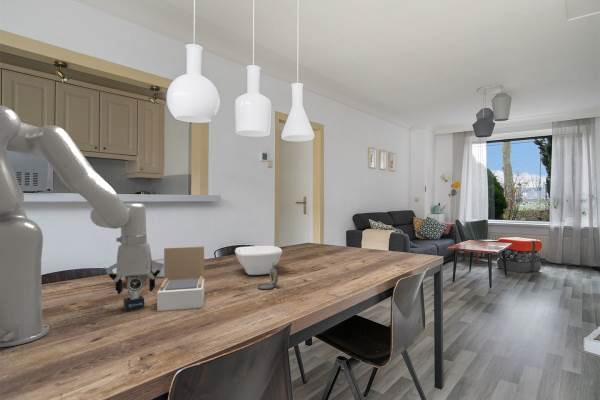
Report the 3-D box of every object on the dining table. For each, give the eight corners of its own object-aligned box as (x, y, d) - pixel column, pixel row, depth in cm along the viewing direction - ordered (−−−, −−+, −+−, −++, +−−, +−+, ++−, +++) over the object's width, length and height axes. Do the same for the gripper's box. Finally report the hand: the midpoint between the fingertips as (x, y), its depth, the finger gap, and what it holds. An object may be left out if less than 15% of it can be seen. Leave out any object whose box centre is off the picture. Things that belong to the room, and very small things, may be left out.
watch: (126, 313, 105) (126, 278, 104) (122, 306, 111) (122, 274, 111) (145, 309, 108) (145, 276, 108) (140, 303, 114) (140, 271, 114)
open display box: (202, 307, 110) (202, 253, 110) (157, 311, 107) (156, 255, 106) (204, 293, 126) (204, 246, 125) (165, 296, 122) (164, 247, 122)
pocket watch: (254, 288, 132) (254, 263, 132) (265, 283, 139) (265, 260, 139) (271, 291, 128) (271, 266, 128) (282, 286, 135) (282, 262, 135)
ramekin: (166, 270, 165) (166, 256, 165) (186, 273, 159) (186, 258, 159) (143, 276, 153) (143, 261, 153) (164, 279, 147) (164, 263, 147)
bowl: (237, 281, 144) (237, 254, 144) (233, 270, 165) (233, 246, 165) (286, 277, 150) (286, 252, 150) (276, 267, 171) (276, 244, 171)
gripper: (101, 243, 104) (103, 297, 104) (160, 240, 108) (161, 292, 108) (108, 240, 111) (110, 290, 111) (163, 237, 115) (165, 285, 116)
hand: (136, 291), depth 110 cm, fingers open, 9 cm apart
